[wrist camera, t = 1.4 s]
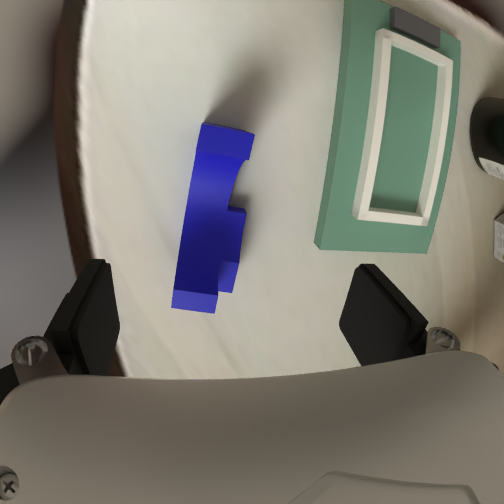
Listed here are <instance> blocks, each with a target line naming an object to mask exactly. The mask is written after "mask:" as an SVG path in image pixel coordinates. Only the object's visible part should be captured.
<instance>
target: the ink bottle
mask: <svg viewBox="0 0 504 504" xmlns="http://www.w3.org/2000/svg"><path fill="white" fill-rule="evenodd" d="M470 138H471V147H472V152H473V155H474V158H475V161H476V163H477V164H478V166H479V167H480V168H481V169H482V170H483V171H484V172H486V173H488V174H490V175H493V176H495V177H498V178H501V179H503V180H504V99H500V98H485V99H483V100H482V101H480V102H479V103H478V104H477V106H476V107H475V109H474V111H473V114H472V118H471V126H470Z"/></svg>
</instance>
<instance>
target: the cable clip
mask: <svg viewBox="0 0 504 504" xmlns="http://www.w3.org/2000/svg"><path fill="white" fill-rule="evenodd" d="M254 136H255V135H254V134H252V133H249V132H247V131H244V130H240V129H235V128H230V127H225V126H220V125H215V124H209V123H204V122H203V123H202V125H201V129H200V134H199V138H198V143H197V148H196V155H195V161H194V167H193V172H192V178H191V183H190V189H189V194H188V200H187V206H186V212H185V218H184V224H183V230H182V236H181V242H180V249H179V255H178V262H177V268H176V275H175V282H174V289H173V297H172V306H171V308H176V309H183V310H191V311H198V312H206V313H215V309H216V304H217V299H218V291H221V292H229V293H232V291H233V287H234V283H235V278H236V274H237V270H238V266H239V259H240V249H241V242H242V235H243V229H244V224H245V220H246V215H247V214H246V211H245V209H243V208H237V207H232V206H228V204H229V200H230V196H231V192H232V189H233V185H234V182H235V179H236V176H237V174H238V171H239V169H240V167H241V165H242V163H243V162H244V161H245V160H249V157H250V153H251V149H252V144H253V140H254Z"/></svg>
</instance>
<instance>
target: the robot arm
mask: <svg viewBox="0 0 504 504" xmlns="http://www.w3.org/2000/svg"><path fill="white" fill-rule="evenodd" d="M427 324H428V321H427V320H426V319H425V317H424V316H423V315H422V314H421V313H420V312H419V311H418V310H417V309H416V307H415V306H414V305H413V304H412V303H411V302H410V301H409V300H408V299H407V298H406V297H405V295H404V294H403V293H402V292H401V291H400V290H399V289H398V288H397V287H396V286H395V285H394V284H393V283H392V282H391V281H390V280H389V278H388V277H387V276H386V275H385V274H384V273H383V272H382V271H381V270H380V269H379V268H378V267H377V266H376V265H375V264H360V265H359V267H357V268H356V269H355V271H354V275H353V278H352V282H351V285H350V288H349V292H348V295H347V298H346V302H345V305H344V308H343V311H342V314H341V317H340V321H339V327H340V330H341V331H342V333H343V335H344V336H345V338H346V340H347V342H348V343H349V345H350V347H351V349H352V350H353V352H354V354H355V356H356V357H357V359H358V361H359V363H360V364H361V366H360V367H354V368H347V369H340V370H332V371H324V372H316V373H307V374H297V375H286V376H273V377H258V378H237V379H152V378H133V377H113V376H108V375H109V371H110V367H111V362H112V358H113V354H114V350H115V346H116V342H117V339H118V335H119V331H120V322H119V317H118V311H117V305H116V299H115V293H114V286H113V279H112V272H111V265H110V263H106V261H105V260H104V259H89V260H88V262H87V264H86V265H85V267H84V268H83V270H82V272H81V273H80V275H79V277H78V278H77V280H76V282H75V283H74V285H73V287H72V289H71V290H70V292H69V293H67V294H66V295H65V297H64V299H63V301H62V302H61V304H60V306H59V308H58V309H57V311H56V313H55V315H54V317H53V319H52V321H51V322H50V324H49V326H48V328H47V330H46V332H45V334H44V336H43V337H42V336H29V337H26V338H24V339H22V340H20V341H19V342H18V343H17V344H16V345H15V346H14V348H13V349H12V352H11V360H12V364H10V365H8V366H6V367H4V368H2V369H0V504H504V376H503V375H502V373H501V372H500V371H499V369H498V367H497V366H496V365H495V364H493V363H491V362H490V361H489V360H488V359H487V358H485V357H484V356H482V355H479V354H476V353H472V352H466V351H461V350H460V342H459V339H458V338H457V336H456V335H455V334H454V333H452V332H451V331H449V330H447V329H445V328H442V327H433V328H431V329H429V330H428V332H427V331H426V330H425V328H426V326H427Z"/></svg>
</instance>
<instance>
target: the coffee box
mask: <svg viewBox="0 0 504 504" xmlns="http://www.w3.org/2000/svg"><path fill="white" fill-rule="evenodd" d="M494 257H495V258H497V259H498V260H500V261H501V262H503V263H504V213H503V214H502V215H500V216H499V217H498V218H496V219H495V220H494Z"/></svg>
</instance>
